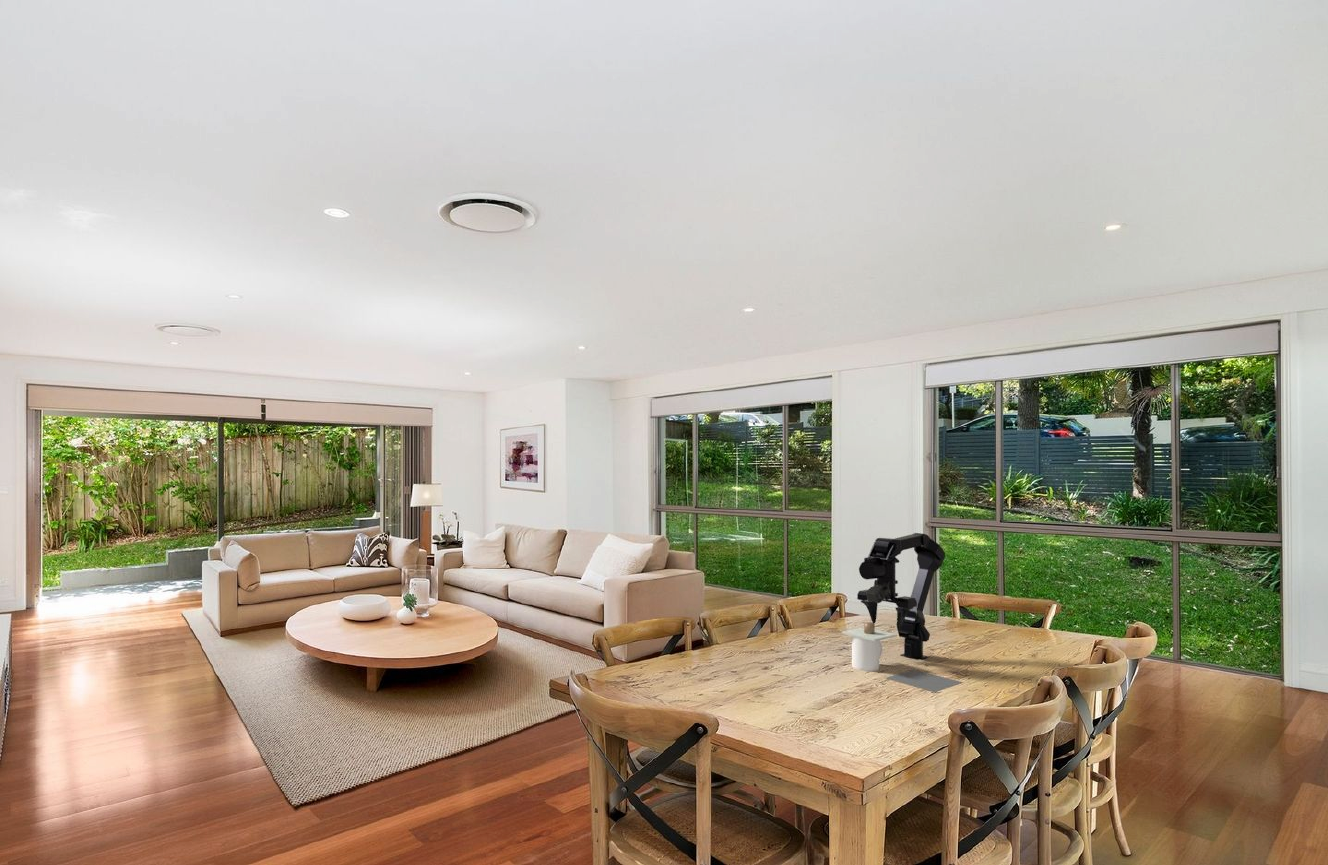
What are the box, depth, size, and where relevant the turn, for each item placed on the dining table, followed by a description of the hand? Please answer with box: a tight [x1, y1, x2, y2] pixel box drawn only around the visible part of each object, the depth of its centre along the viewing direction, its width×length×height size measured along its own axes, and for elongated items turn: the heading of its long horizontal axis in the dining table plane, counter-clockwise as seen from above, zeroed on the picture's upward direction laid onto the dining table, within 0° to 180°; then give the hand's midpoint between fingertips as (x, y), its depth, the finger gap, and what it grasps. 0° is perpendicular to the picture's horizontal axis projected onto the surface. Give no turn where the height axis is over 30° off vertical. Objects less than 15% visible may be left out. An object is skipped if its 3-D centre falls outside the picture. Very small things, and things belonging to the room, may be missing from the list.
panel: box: [841, 621, 898, 641], centre depth 217 cm, size 12×12×4 cm
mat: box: [885, 669, 964, 693], centre depth 203 cm, size 16×16×1 cm
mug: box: [851, 636, 883, 672], centre depth 216 cm, size 12×8×10 cm
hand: (886, 625), depth 223 cm, fingers open, 9 cm apart
